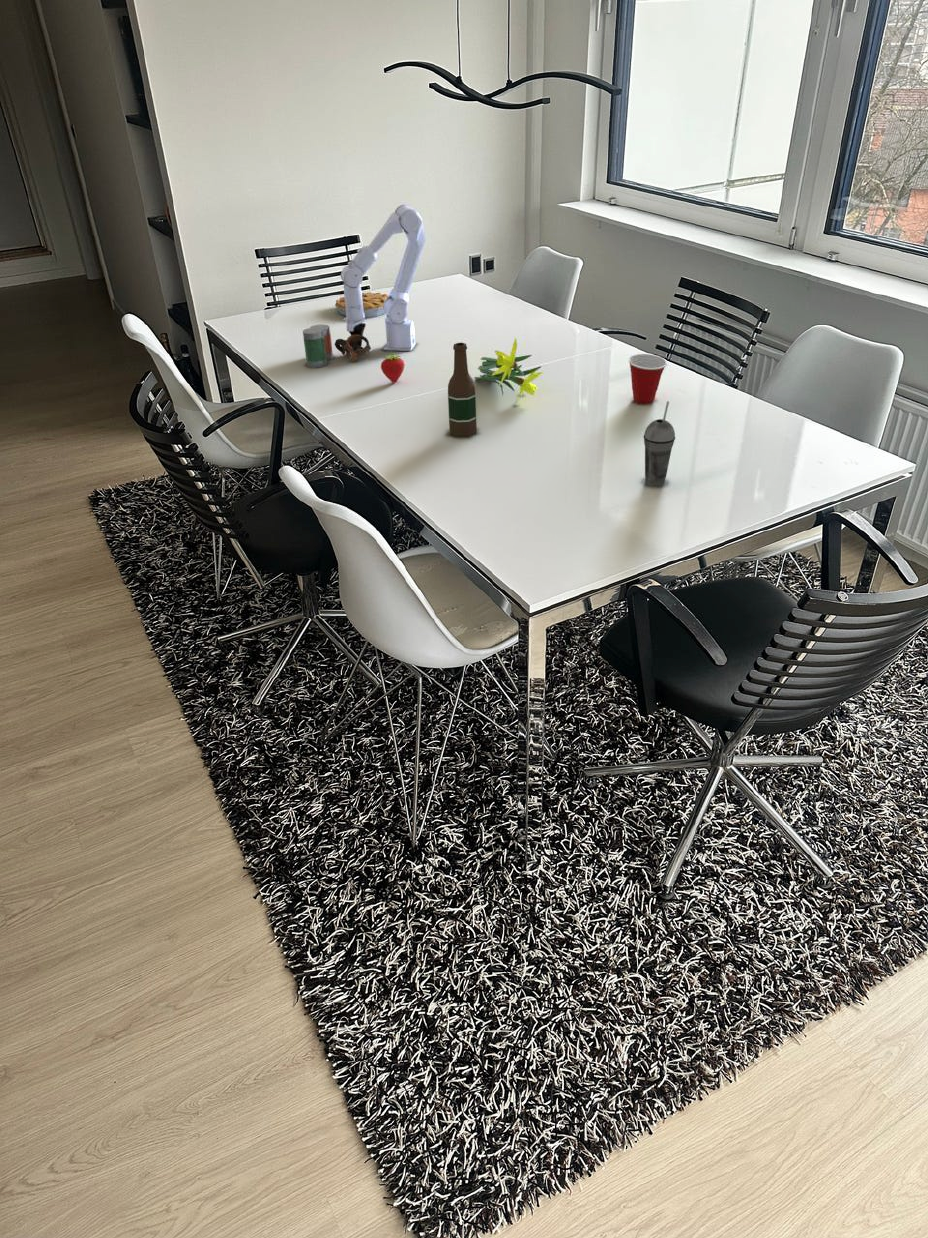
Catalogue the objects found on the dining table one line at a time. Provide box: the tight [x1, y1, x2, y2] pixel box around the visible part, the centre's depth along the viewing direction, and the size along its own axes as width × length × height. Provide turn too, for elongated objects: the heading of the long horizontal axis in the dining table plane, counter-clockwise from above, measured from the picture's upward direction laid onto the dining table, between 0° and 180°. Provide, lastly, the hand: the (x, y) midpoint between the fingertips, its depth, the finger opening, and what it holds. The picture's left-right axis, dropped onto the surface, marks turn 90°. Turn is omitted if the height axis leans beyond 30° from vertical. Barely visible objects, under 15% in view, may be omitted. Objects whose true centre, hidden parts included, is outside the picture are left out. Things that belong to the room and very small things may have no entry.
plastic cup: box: [628, 353, 668, 405], centre depth 252 cm, size 11×11×12 cm
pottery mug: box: [334, 334, 372, 363], centre depth 294 cm, size 12×10×8 cm
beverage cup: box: [642, 400, 676, 487], centre depth 207 cm, size 7×7×20 cm
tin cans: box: [302, 324, 334, 369], centre depth 290 cm, size 6×13×11 cm, turn 170°
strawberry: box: [380, 350, 405, 384], centre depth 271 cm, size 6×8×10 cm
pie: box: [334, 292, 389, 319], centre depth 339 cm, size 22×22×5 cm
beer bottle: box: [447, 342, 477, 439], centre depth 234 cm, size 8×8×24 cm
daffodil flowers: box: [474, 337, 544, 406], centre depth 259 cm, size 17×15×35 cm
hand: (358, 346), depth 299 cm, fingers closed
